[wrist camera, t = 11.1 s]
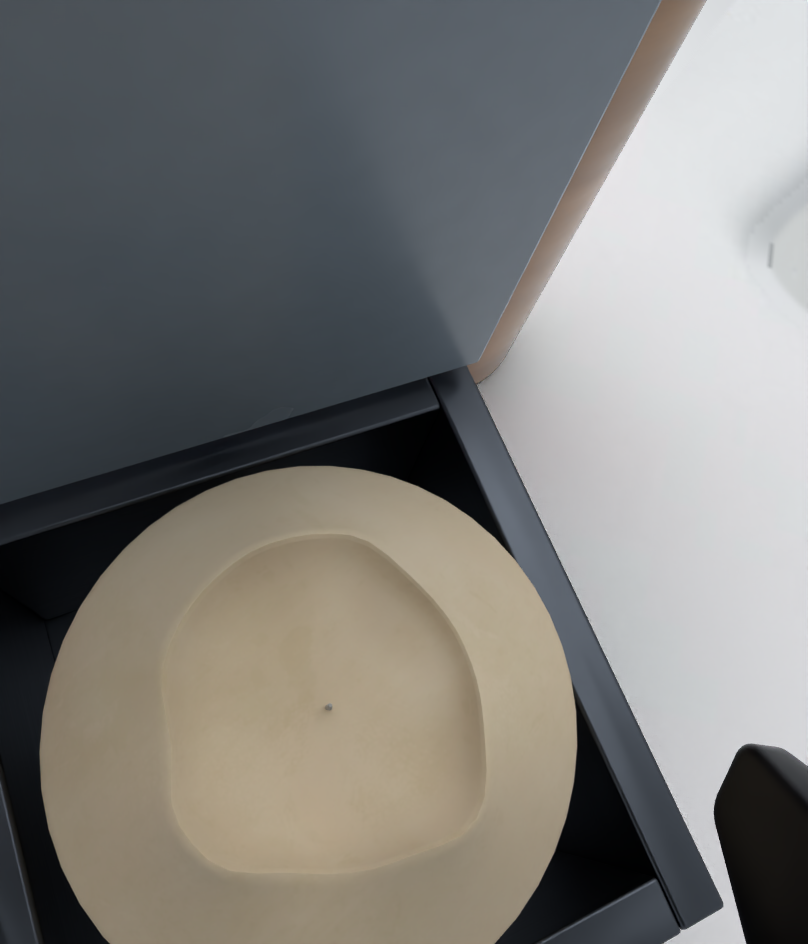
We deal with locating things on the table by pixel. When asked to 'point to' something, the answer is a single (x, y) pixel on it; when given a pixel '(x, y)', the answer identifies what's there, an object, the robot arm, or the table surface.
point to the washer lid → (269, 205)
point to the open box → (439, 472)
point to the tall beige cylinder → (593, 169)
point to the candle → (309, 723)
